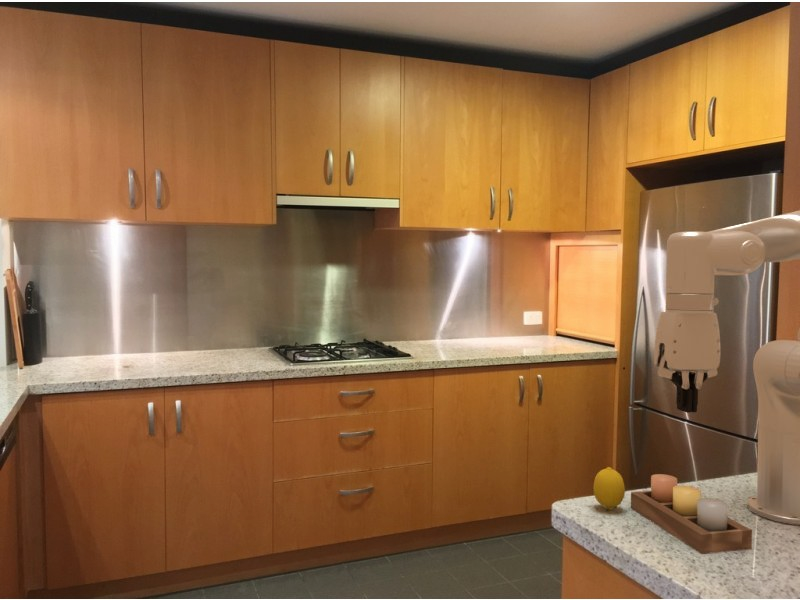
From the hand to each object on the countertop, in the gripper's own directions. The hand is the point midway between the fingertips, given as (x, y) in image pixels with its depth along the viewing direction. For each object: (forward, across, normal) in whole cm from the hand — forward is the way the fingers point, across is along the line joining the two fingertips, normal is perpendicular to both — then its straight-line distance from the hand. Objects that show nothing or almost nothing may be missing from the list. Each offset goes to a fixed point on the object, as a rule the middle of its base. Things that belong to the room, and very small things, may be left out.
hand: (686, 410), depth 109 cm
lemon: (+20, +9, -10) cm, 24 cm away
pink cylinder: (+18, 0, -6) cm, 19 cm away
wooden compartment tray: (+20, 0, 0) cm, 20 cm away
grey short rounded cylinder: (+18, 0, +6) cm, 19 cm away
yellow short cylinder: (+18, 0, 0) cm, 18 cm away
